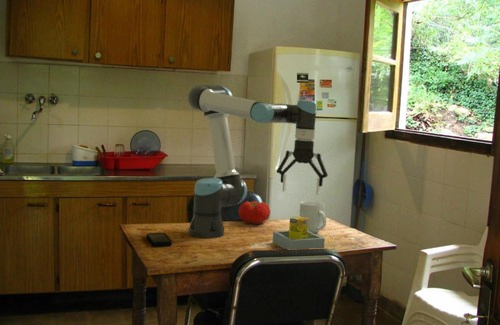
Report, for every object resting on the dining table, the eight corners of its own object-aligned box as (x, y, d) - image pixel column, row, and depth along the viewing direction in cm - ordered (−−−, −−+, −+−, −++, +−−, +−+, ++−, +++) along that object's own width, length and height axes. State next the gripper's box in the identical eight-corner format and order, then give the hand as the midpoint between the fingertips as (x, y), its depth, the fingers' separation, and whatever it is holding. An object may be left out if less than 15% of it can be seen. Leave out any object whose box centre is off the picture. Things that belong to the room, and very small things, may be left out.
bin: (290, 252, 213) (291, 240, 212) (272, 242, 227) (273, 231, 226) (323, 249, 219) (324, 238, 219) (304, 240, 233) (305, 229, 232)
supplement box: (301, 247, 219) (303, 220, 218) (287, 244, 222) (289, 218, 221) (307, 244, 224) (309, 218, 223) (294, 241, 227) (295, 215, 226)
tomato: (273, 221, 267) (275, 201, 266) (260, 227, 252) (261, 206, 251) (247, 217, 273) (248, 197, 271) (232, 223, 258) (233, 202, 257)
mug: (333, 235, 245) (335, 206, 243) (314, 237, 239) (316, 207, 237) (312, 227, 257) (313, 200, 256) (293, 229, 251) (295, 201, 249)
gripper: (271, 137, 218) (268, 190, 220) (335, 142, 212) (330, 197, 214) (275, 136, 225) (272, 188, 227) (337, 141, 219) (332, 194, 221)
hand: (300, 192), depth 221 cm, fingers open, 13 cm apart
